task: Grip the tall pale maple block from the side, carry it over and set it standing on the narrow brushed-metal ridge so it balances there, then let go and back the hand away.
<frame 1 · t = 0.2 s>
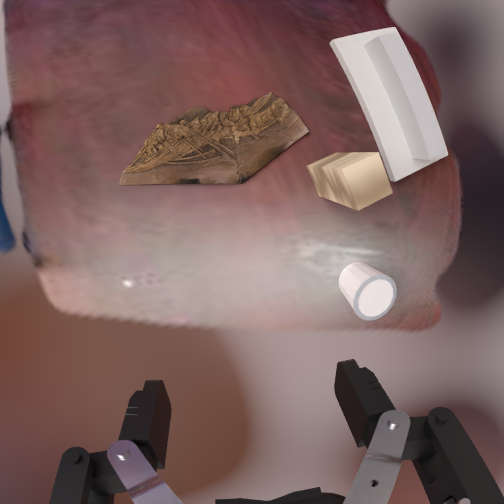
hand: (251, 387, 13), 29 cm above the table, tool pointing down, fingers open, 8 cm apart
wooden fragment: (210, 147, 37), on the table
maple block: (327, 174, 39), on the table
white cylinder: (354, 279, 45), on the table
ridge stand: (393, 99, 37), on the table
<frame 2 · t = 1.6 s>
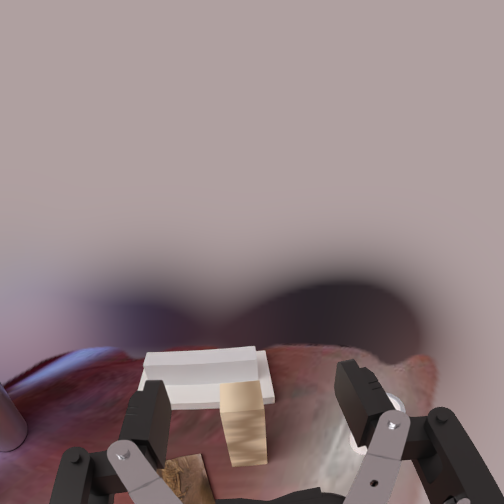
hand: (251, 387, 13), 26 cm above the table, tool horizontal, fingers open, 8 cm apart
maple block: (248, 452, 34), on the table
white cylinder: (368, 441, 33), on the table
ridge stand: (204, 383, 48), on the table
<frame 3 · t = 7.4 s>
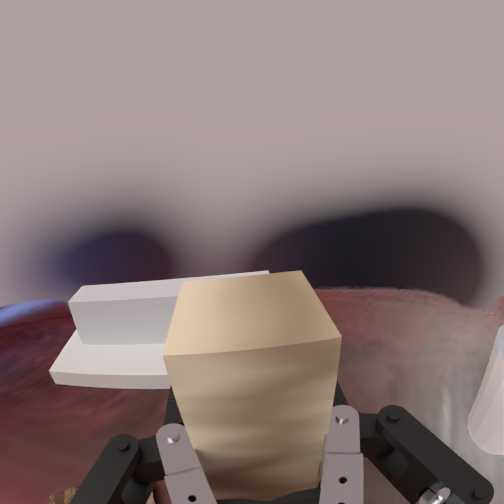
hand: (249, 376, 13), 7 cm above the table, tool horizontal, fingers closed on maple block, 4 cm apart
maple block: (262, 484, 13), on the table, touching gripper
white cylinder: (497, 427, 13), on the table
ridge stand: (177, 345, 27), on the table
when the fingers open (14 cm above the table, at t = 11.8 s): maple block stays where it is, resting on ridge stand.
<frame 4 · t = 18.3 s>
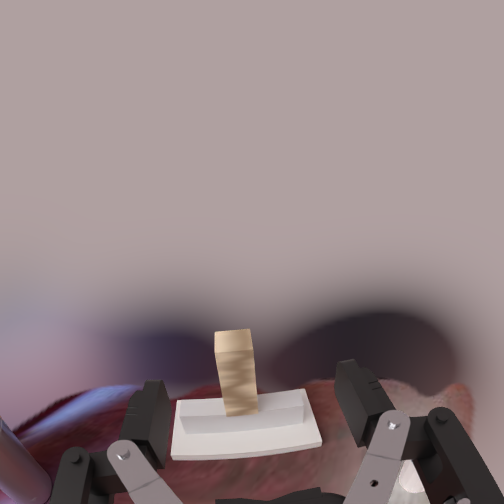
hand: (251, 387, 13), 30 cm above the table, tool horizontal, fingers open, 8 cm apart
maple block: (241, 404, 40), point 6 cm above the table, touching ridge stand
white cylinder: (416, 477, 28), on the table
ridge stand: (244, 428, 42), on the table
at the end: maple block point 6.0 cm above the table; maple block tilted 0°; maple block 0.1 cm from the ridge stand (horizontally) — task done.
